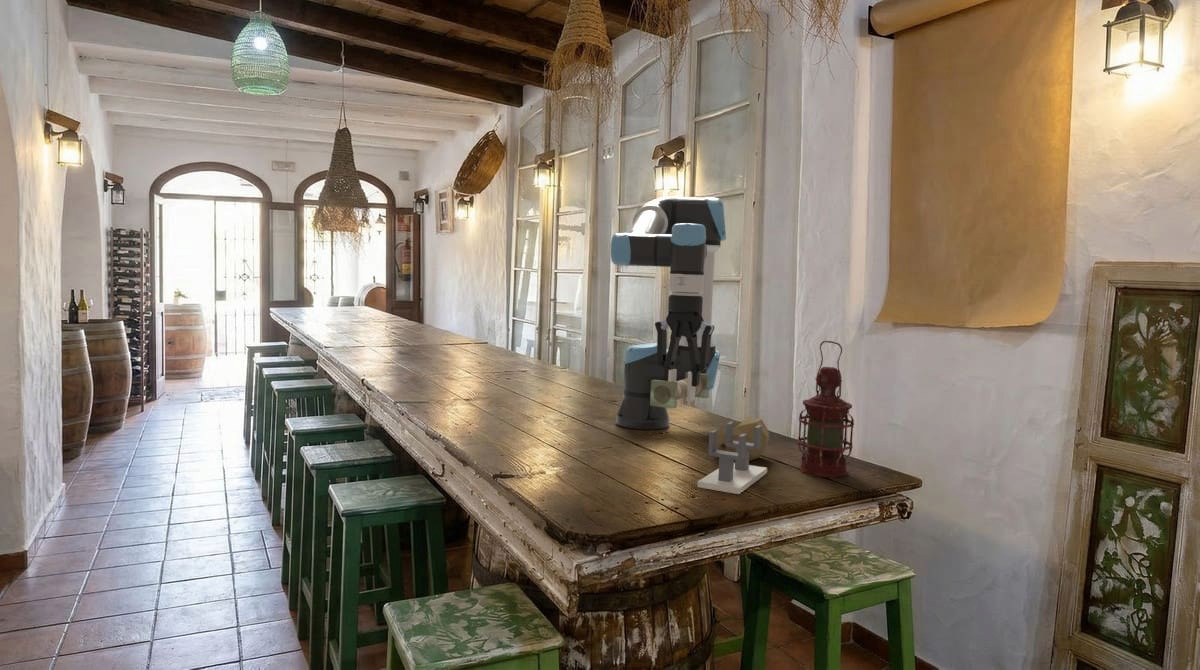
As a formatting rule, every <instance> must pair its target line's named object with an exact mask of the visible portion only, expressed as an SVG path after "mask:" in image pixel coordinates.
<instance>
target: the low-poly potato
mask: <svg viewBox="0 0 1200 670" xmlns="http://www.w3.org/2000/svg"><path fill="white" fill-rule="evenodd" d="M758 425H760V426H762V431H761V448H760V449H758V450H751V449H750V452H749V462H750V461H753V460H756V459H758V458H759V457H760V456H761V455H763V453H764V452H765V451H766V450H767V447H768V444H769V442H770V431H769V429H768V427H767V426H766V424H765V422H764V421H763V419H762V418H755V417H747V416H746V418H745V419H744V420H742V421H741V422H740V423H739V424H738V425H737V426H736V425H735V426H734V430H733V441H739V436H740V435H742V434H747V437H746V442H747V443H754V428H755V427H756V426H758ZM725 442H726V425H725V426H724V425H721V426H720V427H719V428H718V429H717V449H716V450H721V451H728V452H735V453H736V447H730V446H725Z"/></svg>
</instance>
